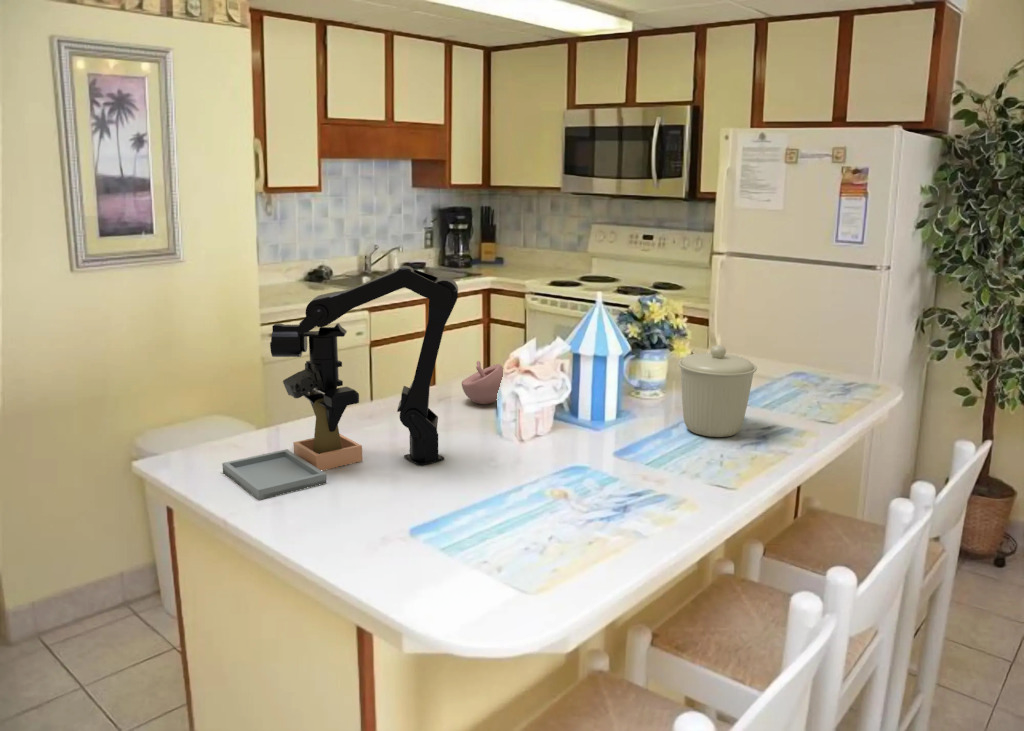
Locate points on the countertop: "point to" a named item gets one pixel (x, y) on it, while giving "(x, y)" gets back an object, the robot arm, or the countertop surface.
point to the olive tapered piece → (324, 431)
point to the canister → (715, 391)
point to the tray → (273, 473)
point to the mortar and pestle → (483, 384)
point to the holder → (329, 453)
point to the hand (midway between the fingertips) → (326, 428)
